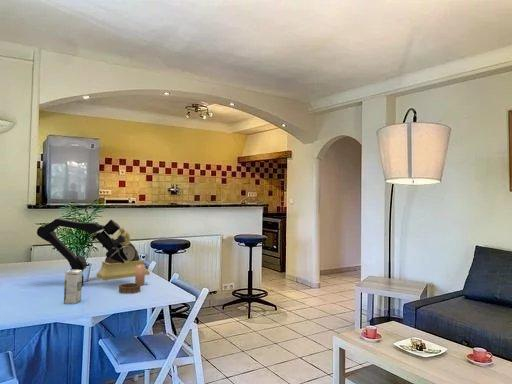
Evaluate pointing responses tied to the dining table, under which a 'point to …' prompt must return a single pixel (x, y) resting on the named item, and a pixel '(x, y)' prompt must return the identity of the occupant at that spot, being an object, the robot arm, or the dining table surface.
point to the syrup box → (72, 286)
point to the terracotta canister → (140, 274)
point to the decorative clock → (118, 269)
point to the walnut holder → (129, 288)
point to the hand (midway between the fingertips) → (125, 261)
